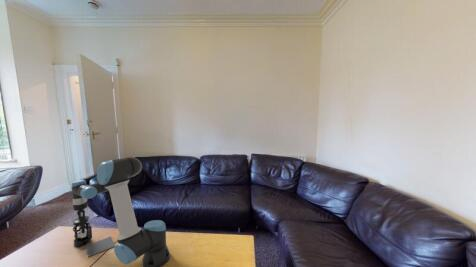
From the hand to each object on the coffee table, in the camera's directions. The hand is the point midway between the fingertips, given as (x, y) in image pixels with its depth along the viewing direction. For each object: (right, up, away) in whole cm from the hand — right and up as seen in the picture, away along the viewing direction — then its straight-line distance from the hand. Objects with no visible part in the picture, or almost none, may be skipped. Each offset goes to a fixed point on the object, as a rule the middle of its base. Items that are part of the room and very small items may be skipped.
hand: (82, 232), depth 129 cm
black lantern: (0, -7, +1) cm, 7 cm away
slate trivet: (+15, -7, -3) cm, 17 cm away
